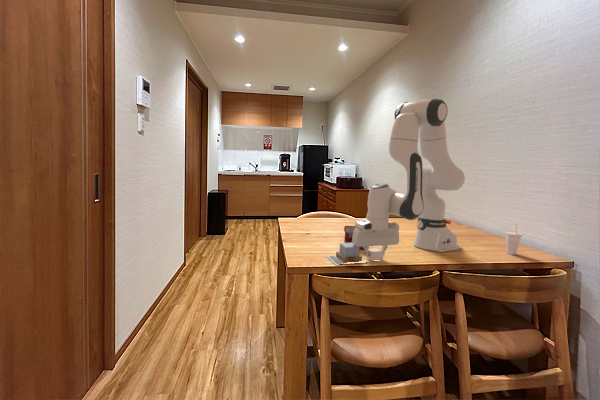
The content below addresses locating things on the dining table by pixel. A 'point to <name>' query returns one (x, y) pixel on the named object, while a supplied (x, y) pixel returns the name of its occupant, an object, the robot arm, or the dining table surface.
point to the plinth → (348, 258)
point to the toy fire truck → (349, 234)
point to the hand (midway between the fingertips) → (374, 255)
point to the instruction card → (334, 259)
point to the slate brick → (349, 250)
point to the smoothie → (512, 241)
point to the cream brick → (375, 254)
